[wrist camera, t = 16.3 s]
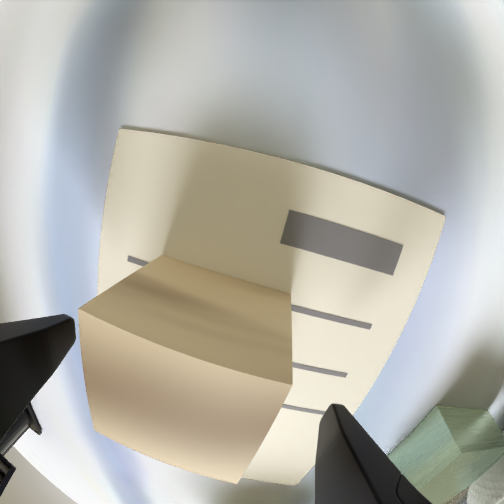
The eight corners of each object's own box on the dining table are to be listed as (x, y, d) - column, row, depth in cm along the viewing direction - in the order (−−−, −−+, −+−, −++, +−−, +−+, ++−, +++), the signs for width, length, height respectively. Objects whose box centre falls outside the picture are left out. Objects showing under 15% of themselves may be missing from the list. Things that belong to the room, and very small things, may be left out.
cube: (254, 391, 11) (237, 483, 6) (149, 356, 12) (94, 430, 7) (290, 293, 10) (292, 385, 5) (162, 254, 10) (78, 308, 5)
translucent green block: (433, 464, 12) (446, 502, 8) (372, 465, 13) (381, 513, 9) (489, 406, 11) (513, 444, 7) (435, 400, 11) (461, 452, 7)
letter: (295, 484, 13) (295, 486, 13) (109, 429, 14) (108, 430, 14) (444, 216, 9) (446, 216, 9) (120, 128, 9) (118, 128, 9)
